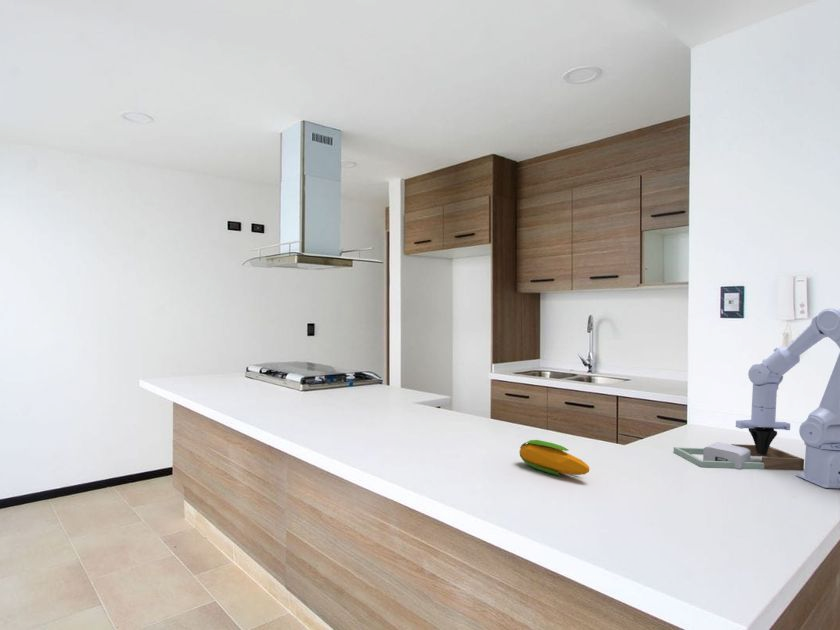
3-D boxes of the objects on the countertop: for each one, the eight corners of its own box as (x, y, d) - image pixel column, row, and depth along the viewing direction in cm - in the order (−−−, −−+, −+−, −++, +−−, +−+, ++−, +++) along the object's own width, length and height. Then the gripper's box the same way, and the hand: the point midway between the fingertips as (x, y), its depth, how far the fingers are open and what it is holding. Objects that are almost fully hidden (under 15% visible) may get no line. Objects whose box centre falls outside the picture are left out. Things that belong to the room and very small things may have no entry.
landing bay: (764, 469, 137) (764, 463, 137) (700, 467, 136) (701, 461, 136) (730, 454, 151) (731, 449, 150) (673, 452, 150) (673, 447, 150)
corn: (530, 432, 136) (598, 449, 121) (530, 459, 137) (598, 480, 122) (513, 437, 131) (582, 456, 116) (513, 466, 132) (582, 488, 117)
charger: (756, 461, 145) (739, 471, 135) (721, 453, 152) (702, 462, 142) (757, 445, 145) (740, 453, 135) (721, 438, 152) (703, 445, 142)
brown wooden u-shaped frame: (803, 470, 137) (804, 459, 137) (764, 469, 137) (764, 458, 136) (766, 455, 151) (767, 445, 151) (730, 454, 151) (731, 444, 150)
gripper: (778, 404, 148) (776, 450, 148) (729, 403, 147) (727, 449, 147) (796, 409, 141) (794, 457, 141) (746, 407, 140) (743, 456, 140)
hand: (761, 453), depth 144 cm, fingers closed
